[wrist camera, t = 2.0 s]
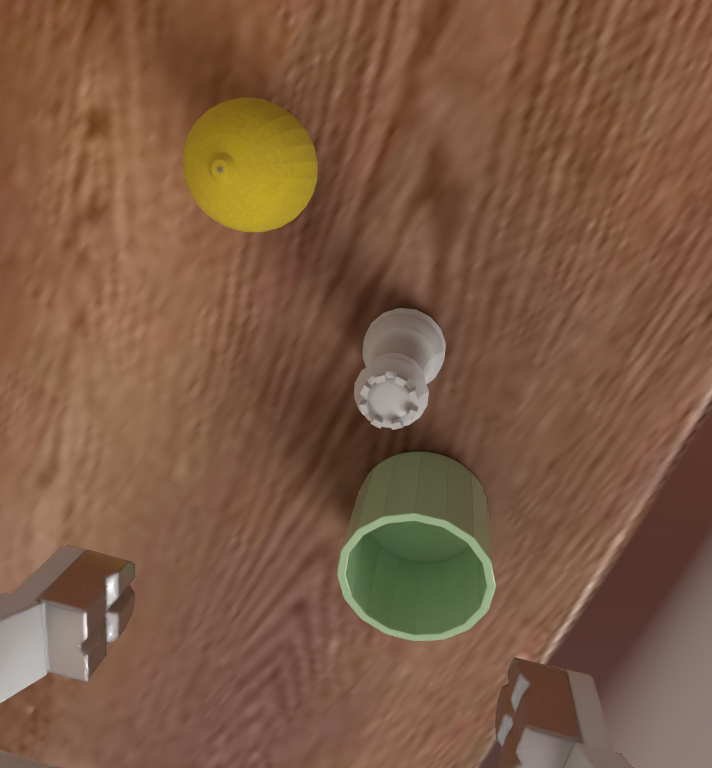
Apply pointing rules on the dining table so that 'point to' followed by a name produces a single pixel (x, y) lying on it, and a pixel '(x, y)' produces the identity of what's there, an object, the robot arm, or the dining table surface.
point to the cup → (419, 548)
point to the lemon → (250, 164)
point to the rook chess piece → (398, 367)
